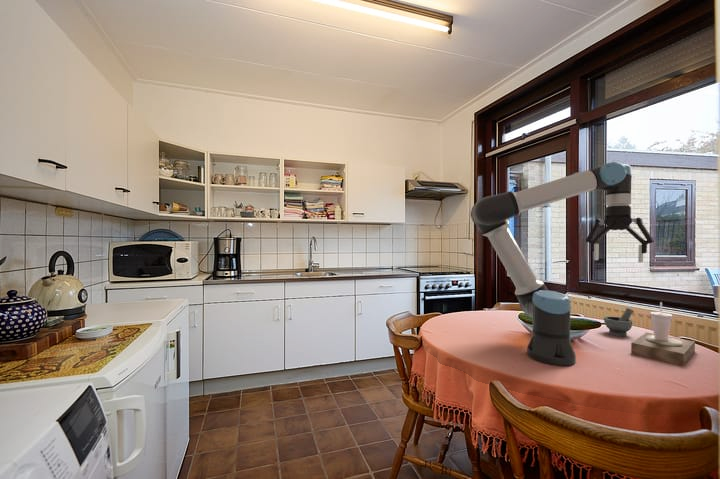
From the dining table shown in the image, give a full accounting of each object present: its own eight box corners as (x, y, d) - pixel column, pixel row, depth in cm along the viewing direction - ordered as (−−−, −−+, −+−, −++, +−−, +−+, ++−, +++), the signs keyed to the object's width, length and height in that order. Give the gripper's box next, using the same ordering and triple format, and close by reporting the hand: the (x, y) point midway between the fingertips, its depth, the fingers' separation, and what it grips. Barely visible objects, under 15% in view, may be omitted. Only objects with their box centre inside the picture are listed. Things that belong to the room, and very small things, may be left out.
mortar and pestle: (613, 337, 138) (613, 309, 138) (599, 330, 147) (599, 305, 147) (641, 337, 137) (641, 310, 137) (624, 331, 146) (625, 305, 146)
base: (631, 353, 119) (631, 340, 119) (646, 341, 132) (646, 330, 132) (683, 365, 107) (684, 350, 107) (694, 351, 120) (694, 338, 120)
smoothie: (669, 338, 121) (670, 302, 121) (675, 342, 116) (675, 305, 116) (647, 335, 125) (648, 300, 124) (651, 339, 119) (652, 303, 119)
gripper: (665, 203, 113) (664, 262, 113) (583, 208, 133) (583, 258, 133) (660, 202, 108) (659, 263, 108) (576, 207, 128) (576, 259, 128)
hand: (617, 261), depth 120 cm, fingers open, 13 cm apart
